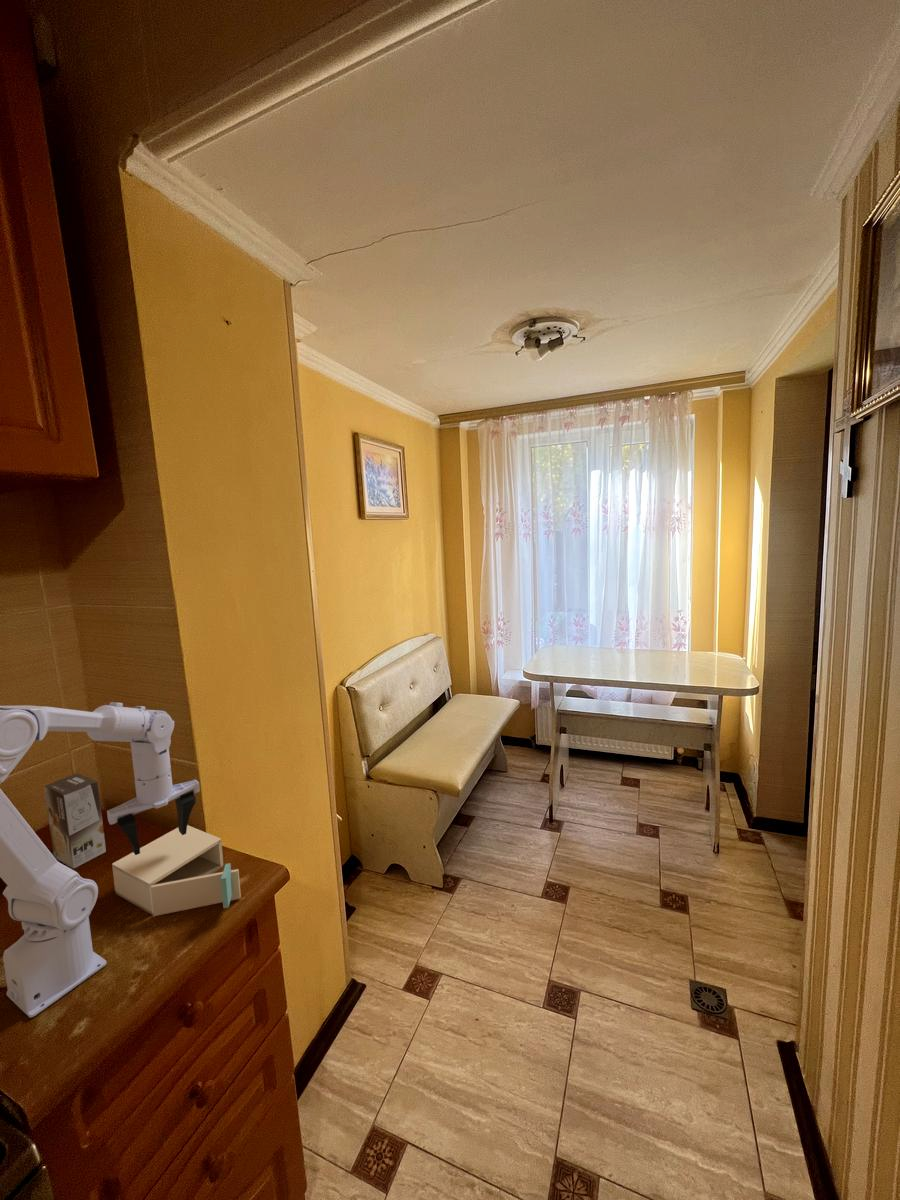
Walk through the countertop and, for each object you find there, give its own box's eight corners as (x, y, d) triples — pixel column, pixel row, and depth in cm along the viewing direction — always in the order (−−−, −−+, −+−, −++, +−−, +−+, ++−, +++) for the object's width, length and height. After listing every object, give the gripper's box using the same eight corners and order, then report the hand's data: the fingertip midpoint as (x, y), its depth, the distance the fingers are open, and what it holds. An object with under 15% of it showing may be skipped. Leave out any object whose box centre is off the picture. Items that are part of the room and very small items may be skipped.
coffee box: (108, 851, 100) (99, 780, 98) (72, 870, 94) (63, 795, 93) (86, 840, 104) (77, 772, 103) (51, 857, 99) (41, 785, 97)
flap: (145, 934, 77) (140, 894, 77) (155, 913, 82) (151, 875, 81) (236, 914, 81) (232, 876, 80) (240, 896, 85) (237, 859, 85)
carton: (152, 915, 82) (149, 883, 81) (115, 893, 87) (111, 863, 87) (223, 866, 94) (221, 838, 93) (187, 850, 100) (184, 823, 99)
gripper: (110, 796, 78) (119, 871, 79) (202, 765, 88) (209, 832, 90) (101, 783, 83) (109, 854, 84) (189, 755, 93) (196, 818, 95)
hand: (160, 841), depth 87 cm, fingers open, 7 cm apart
